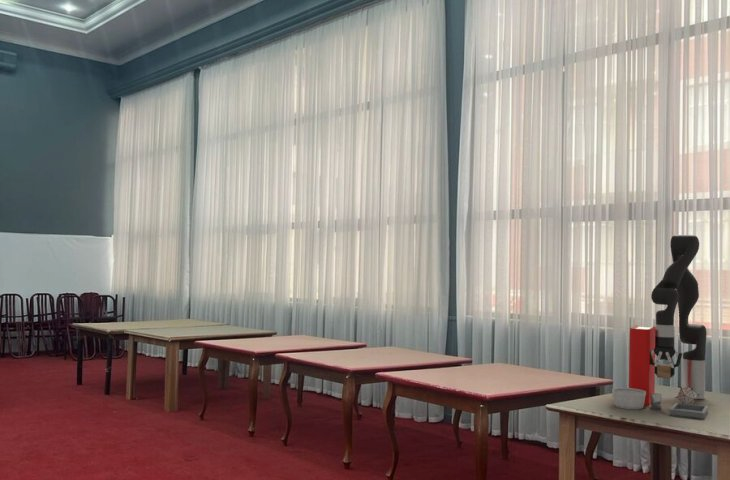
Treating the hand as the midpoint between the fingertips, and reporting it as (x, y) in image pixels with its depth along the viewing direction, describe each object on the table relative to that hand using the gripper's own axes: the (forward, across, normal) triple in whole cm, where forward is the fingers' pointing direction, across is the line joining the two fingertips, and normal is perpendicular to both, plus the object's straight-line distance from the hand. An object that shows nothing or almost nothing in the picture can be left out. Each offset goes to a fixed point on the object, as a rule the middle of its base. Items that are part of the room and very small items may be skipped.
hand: (664, 375), depth 299 cm
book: (+13, +10, -8) cm, 19 cm away
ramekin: (+13, +12, +12) cm, 21 cm away
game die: (+13, -8, -8) cm, 17 cm away
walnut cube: (+1, 0, 0) cm, 1 cm away
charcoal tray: (+12, -11, +12) cm, 21 cm away
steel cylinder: (+13, +2, +8) cm, 15 cm away
